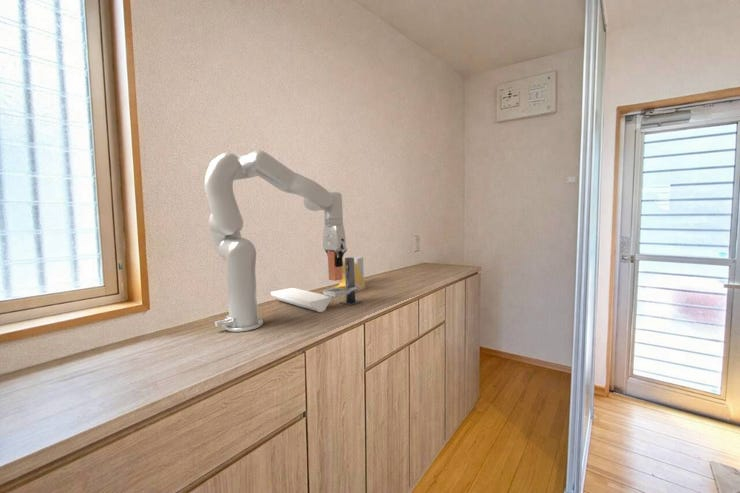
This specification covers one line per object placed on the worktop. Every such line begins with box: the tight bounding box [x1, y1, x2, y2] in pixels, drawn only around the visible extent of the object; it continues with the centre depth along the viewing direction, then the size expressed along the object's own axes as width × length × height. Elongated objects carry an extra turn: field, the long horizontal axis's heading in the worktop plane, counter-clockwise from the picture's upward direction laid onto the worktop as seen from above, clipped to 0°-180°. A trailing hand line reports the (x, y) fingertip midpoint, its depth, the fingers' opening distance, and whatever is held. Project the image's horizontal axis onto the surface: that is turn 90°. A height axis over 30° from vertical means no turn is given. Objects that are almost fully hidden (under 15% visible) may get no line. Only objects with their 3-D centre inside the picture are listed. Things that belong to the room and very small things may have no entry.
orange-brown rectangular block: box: [327, 250, 342, 282], centre depth 142 cm, size 4×4×12 cm
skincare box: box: [352, 256, 365, 280], centre depth 186 cm, size 8×7×16 cm
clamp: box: [331, 260, 366, 297], centre depth 172 cm, size 20×9×16 cm, turn 151°
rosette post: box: [322, 256, 363, 307], centre depth 146 cm, size 17×8×20 cm, turn 136°
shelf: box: [270, 287, 333, 313], centre depth 147 cm, size 12×30×5 cm, turn 46°
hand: (335, 265), depth 142 cm, fingers closed on orange-brown rectangular block, 4 cm apart
